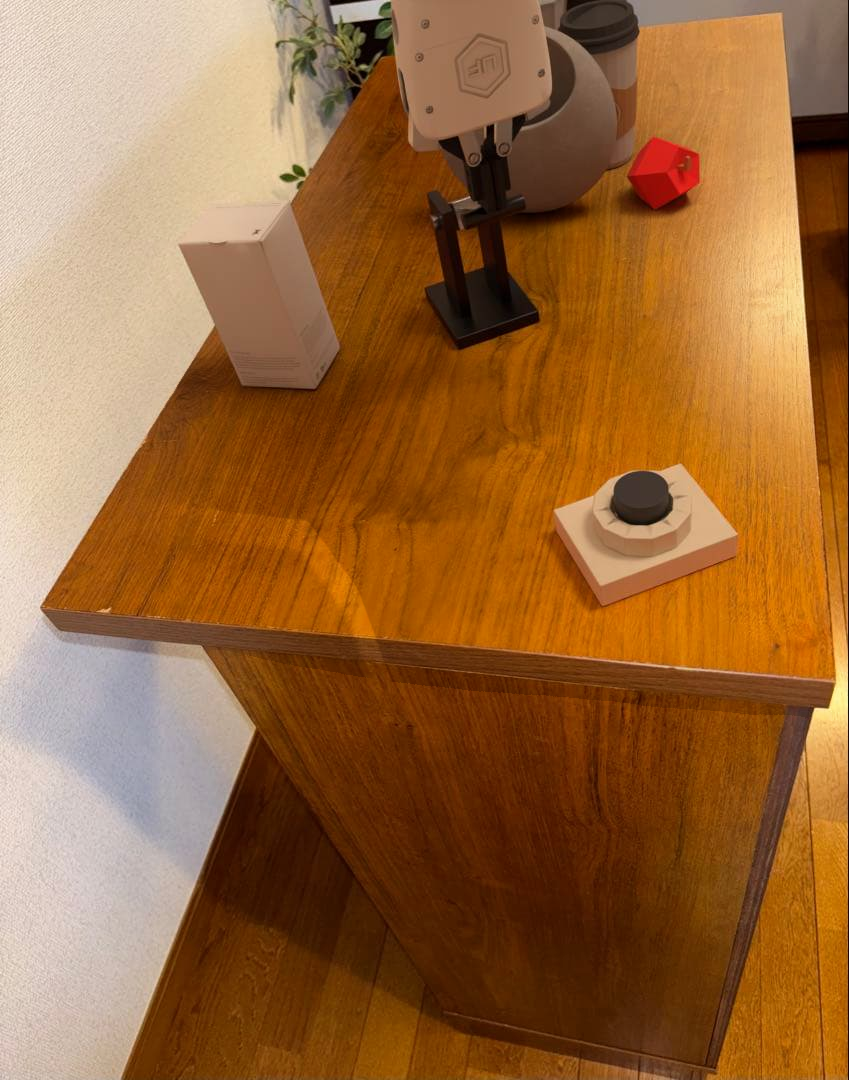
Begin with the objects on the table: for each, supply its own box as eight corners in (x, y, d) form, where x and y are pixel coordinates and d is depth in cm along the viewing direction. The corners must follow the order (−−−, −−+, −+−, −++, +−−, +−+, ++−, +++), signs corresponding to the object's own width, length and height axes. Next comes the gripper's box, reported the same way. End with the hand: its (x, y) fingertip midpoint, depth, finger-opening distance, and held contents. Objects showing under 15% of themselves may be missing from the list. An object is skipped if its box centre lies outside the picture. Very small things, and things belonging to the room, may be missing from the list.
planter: (441, 229, 105) (405, 47, 91) (460, 195, 109) (428, 17, 96) (614, 228, 98) (603, 32, 85) (627, 192, 103) (618, 0, 89)
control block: (680, 484, 72) (680, 444, 70) (737, 556, 67) (739, 515, 64) (555, 530, 72) (550, 491, 69) (602, 607, 66) (598, 568, 63)
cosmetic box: (342, 350, 93) (296, 197, 82) (315, 394, 89) (262, 240, 78) (265, 346, 96) (210, 198, 85) (235, 389, 92) (174, 240, 81)
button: (653, 482, 68) (653, 463, 67) (678, 514, 66) (678, 496, 64) (606, 499, 68) (604, 481, 67) (629, 533, 65) (627, 515, 64)
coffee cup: (564, 179, 107) (551, 36, 96) (569, 143, 113) (557, 4, 102) (643, 171, 105) (638, 24, 94) (644, 135, 110) (639, -8, 100)
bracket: (540, 321, 90) (525, 202, 81) (458, 350, 89) (435, 233, 81) (501, 271, 97) (484, 157, 88) (426, 297, 96) (401, 185, 88)
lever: (529, 217, 77) (521, 185, 76) (469, 237, 76) (461, 206, 75) (490, 217, 88) (483, 190, 87) (438, 235, 87) (430, 208, 87)
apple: (607, 145, 99) (658, 137, 92) (660, 132, 102) (713, 123, 95) (615, 215, 102) (666, 212, 95) (667, 201, 104) (720, 198, 97)
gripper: (357, -9, 60) (415, 256, 73) (583, -81, 61) (600, 193, 74) (329, -39, 65) (388, 213, 78) (538, -104, 66) (561, 155, 79)
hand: (491, 203), depth 76 cm, fingers closed
